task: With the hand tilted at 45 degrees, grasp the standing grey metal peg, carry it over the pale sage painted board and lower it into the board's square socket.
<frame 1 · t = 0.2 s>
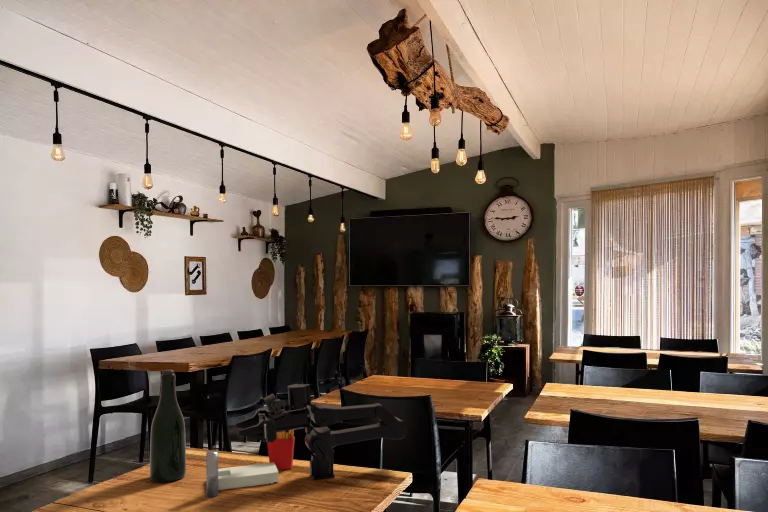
hand: (237, 428, 168), 17 cm above the table, tool horizontal, fingers open, 9 cm apart
peg: (212, 495, 160), on the table
french fries: (280, 468, 184), on the table
socket board: (244, 481, 172), on the table
beer bottle: (168, 478, 176), on the table
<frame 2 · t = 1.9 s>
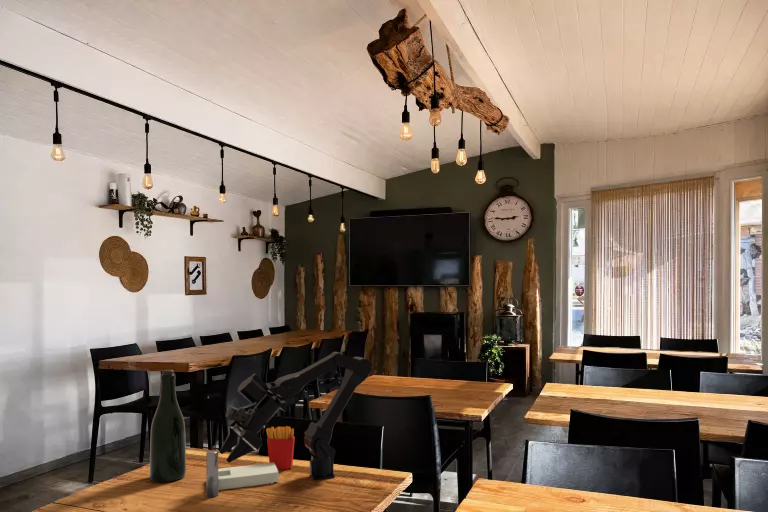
hand: (223, 457, 162), 10 cm above the table, tool tilted 45°, fingers open, 9 cm apart
nothing on the table moved.
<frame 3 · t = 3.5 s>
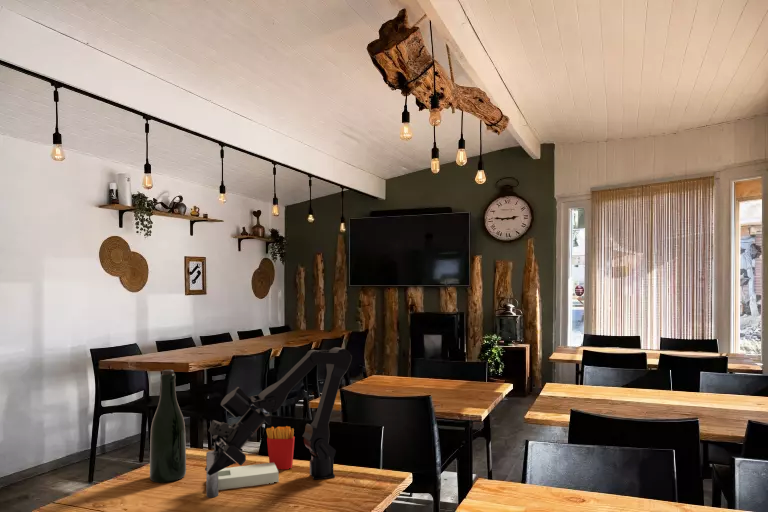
hand: (207, 472, 160), 7 cm above the table, tool tilted 45°, fingers closed on peg, 3 cm apart
peg: (212, 495, 160), on the table, touching gripper
everything else where it was.
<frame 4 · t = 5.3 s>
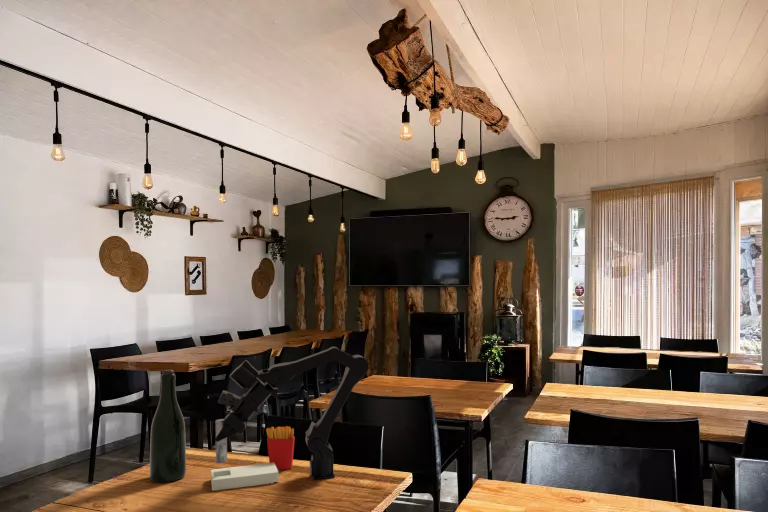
hand: (216, 439, 170), 13 cm above the table, tool tilted 45°, fingers closed on peg, 3 cm apart
peg: (221, 461, 169), point 7 cm above the table, touching gripper
everything else where it was.
when the fingers open (8 cm above the table, at t = 6.9 s): peg drops 1 cm, resting in socket board.
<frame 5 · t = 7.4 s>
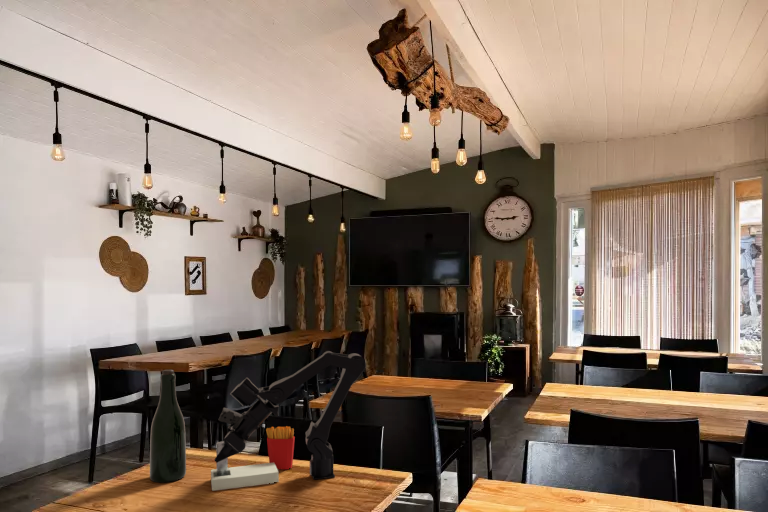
hand: (217, 456, 170), 8 cm above the table, tool tilted 45°, fingers open, 9 cm apart
peg: (222, 483, 170), resting in socket board
everything else where it was.
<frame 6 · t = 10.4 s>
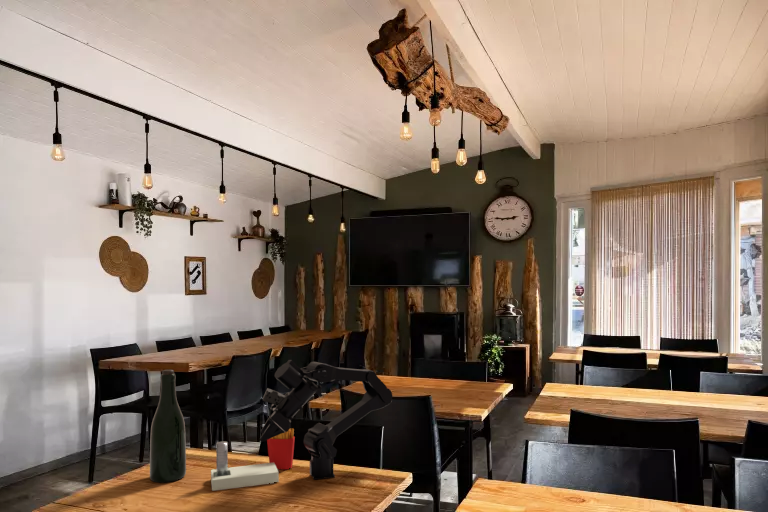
hand: (261, 436, 170), 14 cm above the table, tool tilted 45°, fingers open, 9 cm apart
nothing on the table moved.
at the end: peg 0.0 cm from the target spot on the socket board, point 0.0 cm above the socket board's base; peg tilted 0°; the gripper is holding nothing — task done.
